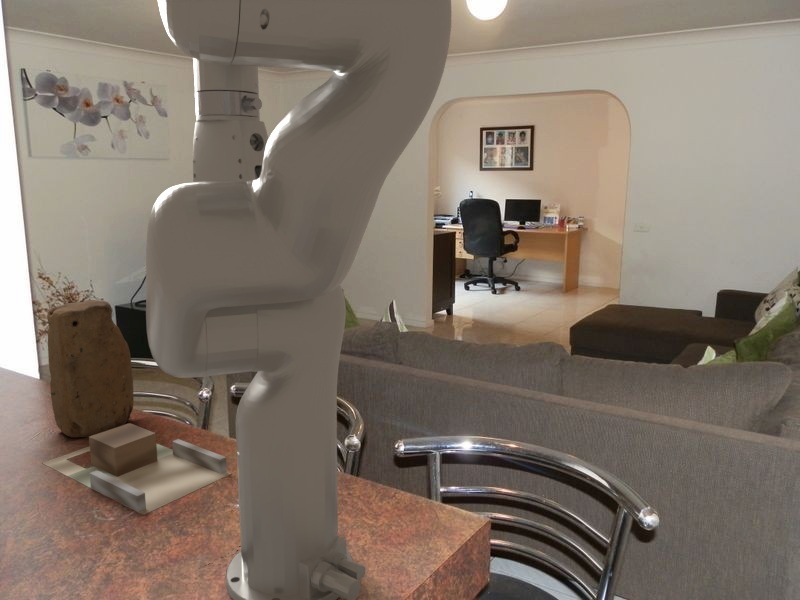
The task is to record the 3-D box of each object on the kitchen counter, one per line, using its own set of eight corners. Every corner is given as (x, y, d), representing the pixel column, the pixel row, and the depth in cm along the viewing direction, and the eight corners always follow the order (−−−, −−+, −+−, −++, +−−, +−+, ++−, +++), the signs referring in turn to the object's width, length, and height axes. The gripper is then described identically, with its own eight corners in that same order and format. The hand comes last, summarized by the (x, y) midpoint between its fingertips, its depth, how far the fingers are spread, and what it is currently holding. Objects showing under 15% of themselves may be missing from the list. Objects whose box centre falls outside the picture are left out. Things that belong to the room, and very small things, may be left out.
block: (71, 444, 98) (59, 312, 94) (50, 431, 103) (37, 304, 99) (141, 424, 106) (132, 301, 102) (119, 412, 111) (109, 294, 107)
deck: (232, 480, 87) (231, 459, 87) (144, 522, 77) (142, 498, 76) (129, 438, 100) (128, 419, 100) (42, 469, 90) (40, 449, 89)
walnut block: (157, 460, 91) (155, 433, 90) (117, 477, 86) (114, 447, 85) (131, 449, 94) (129, 423, 93) (91, 464, 89) (88, 436, 88)
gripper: (294, 109, 80) (298, 261, 83) (211, 114, 88) (217, 252, 92) (247, 104, 74) (254, 268, 77) (162, 110, 82) (171, 258, 85)
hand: (234, 259), depth 84 cm, fingers closed
